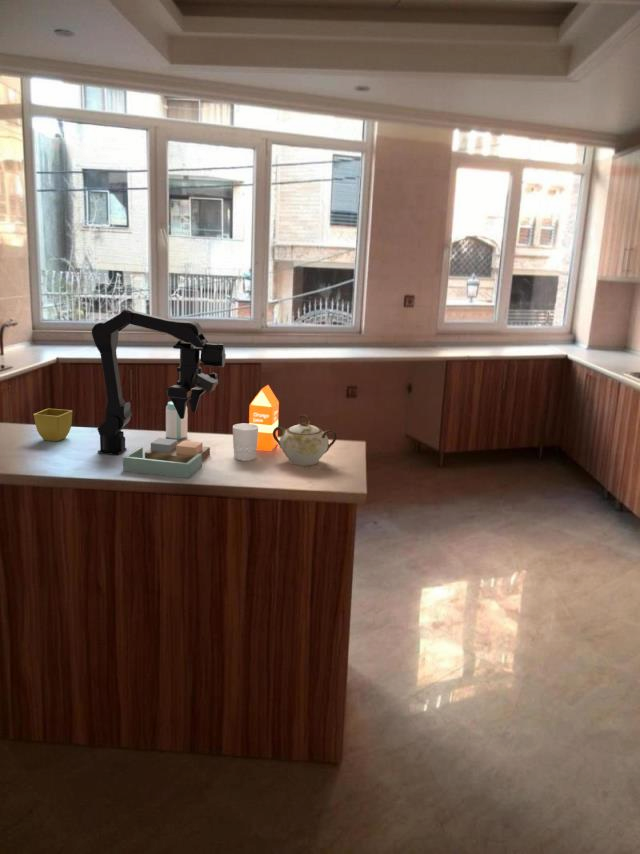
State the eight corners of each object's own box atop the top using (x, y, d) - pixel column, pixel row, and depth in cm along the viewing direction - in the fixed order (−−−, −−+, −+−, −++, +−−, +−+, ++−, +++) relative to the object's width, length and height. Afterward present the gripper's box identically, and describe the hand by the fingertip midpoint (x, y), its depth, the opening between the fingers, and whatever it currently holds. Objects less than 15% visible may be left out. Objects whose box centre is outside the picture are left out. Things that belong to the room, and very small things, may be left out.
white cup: (253, 462, 200) (254, 431, 198) (228, 459, 202) (229, 428, 199) (260, 455, 208) (261, 424, 205) (236, 452, 209) (237, 422, 207)
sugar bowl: (266, 466, 198) (267, 417, 194) (277, 452, 212) (278, 406, 209) (331, 472, 196) (334, 423, 192) (337, 458, 210) (340, 412, 206)
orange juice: (277, 443, 222) (279, 385, 217) (271, 451, 213) (273, 390, 208) (255, 441, 223) (256, 383, 218) (247, 448, 214) (249, 388, 209)
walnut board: (144, 460, 197) (144, 452, 196) (161, 449, 208) (161, 441, 208) (196, 466, 194) (196, 458, 194) (209, 454, 206) (210, 447, 205)
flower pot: (34, 441, 210) (32, 413, 207) (49, 434, 218) (48, 407, 216) (59, 444, 208) (58, 416, 206) (74, 437, 217) (73, 410, 214)
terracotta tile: (176, 453, 197) (176, 445, 196) (183, 448, 202) (183, 440, 202) (195, 455, 196) (195, 447, 195) (202, 450, 201) (202, 442, 201)
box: (123, 470, 187) (122, 457, 186) (139, 459, 197) (139, 447, 196) (188, 478, 184) (188, 464, 183) (201, 466, 194) (201, 453, 193)
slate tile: (150, 451, 198) (150, 443, 197) (159, 445, 204) (159, 437, 203) (169, 453, 197) (169, 445, 196) (177, 447, 203) (177, 439, 202)
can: (164, 435, 225) (164, 400, 222) (185, 434, 227) (185, 399, 224) (167, 440, 218) (167, 405, 215) (189, 439, 221) (189, 404, 218)
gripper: (203, 372, 186) (201, 425, 190) (225, 362, 204) (223, 412, 208) (166, 367, 188) (165, 420, 192) (191, 358, 206) (190, 407, 209)
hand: (188, 415), depth 200 cm, fingers open, 9 cm apart
